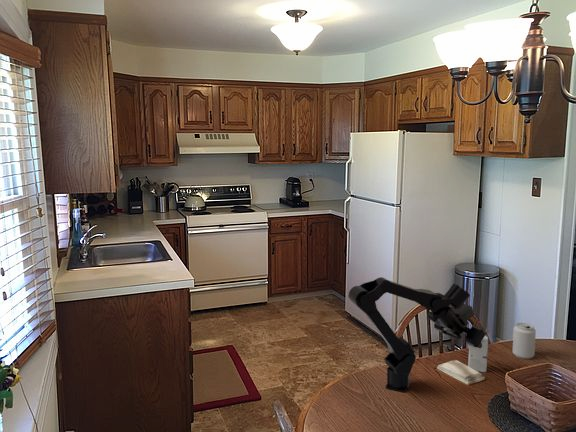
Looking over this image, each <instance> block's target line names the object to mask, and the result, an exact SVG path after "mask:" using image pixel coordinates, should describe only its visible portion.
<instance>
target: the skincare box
mask: <svg viewBox="0 0 576 432" xmlns="http://www.w3.org/2000/svg"><path fill="white" fill-rule="evenodd" d="M481 342H482V347H481V348H477V347H473V346H471V345H469V344H468V359H467V361H468V362H467V363H468V364H467V366H468V367H470V368H472V369H474V370H476V371H478V372H479V373H486V372H487V364H488V350H489V348H488V347H489V337H488V335H487V334H486V335H485V336H484V338H483V340H482V341H481Z"/></svg>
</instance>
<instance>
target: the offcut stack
mask: <svg viewBox="0 0 576 432" xmlns="http://www.w3.org/2000/svg"><path fill="white" fill-rule="evenodd" d="M436 368H437V370H439V371H441V372H443V373H445V374H446V375H448V376H450V377H451V378H454V379H456V380H457V381H460V382H461V383H463V384H464V385H466V386H469V385H473V384H475V383H479V382H481V381H485V380H486V379H485V378H486V377H485V376H484V375H483V374H482V372H480V371H476V370H474V369H472V368H470V367H468V365H466V364H464V363H462V362H461V361H459V360H457V359H455V360H450V361H447V362H444V363H442V364H438V365H437V367H436Z"/></svg>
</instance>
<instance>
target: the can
mask: <svg viewBox="0 0 576 432" xmlns="http://www.w3.org/2000/svg"><path fill="white" fill-rule="evenodd" d="M536 333H537V331H536V329H535V326H534V325H533V324H530V323H527V322H517V323H516V324H515V326H514V327H513V335H512V353H513V355H514V356H515V357H517V358H519V359H525V360H530V359H532V358H533V357H535V354H536V353H535V352H536Z"/></svg>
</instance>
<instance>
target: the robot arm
mask: <svg viewBox="0 0 576 432" xmlns="http://www.w3.org/2000/svg"><path fill="white" fill-rule="evenodd" d="M387 293H388V294H391V295H394V296H397V297H400V298H403V299H406V300H409V301H411V302H415V303H417V304H419V305H420V306H422V307H424V308H425V309H428V310H429V312H428V315H427V319H429V320H430V321H432V322H433V323H434V325H433V328H434V329H435V330H436V331H438V332H440V333H441V334H444V335H446V336H449V337H452V338H455V339H458V340H461V339H462V335H461V334H463V335H464V334H465V337H464V341H465V342H466V344H468V346H469V345H471V346H473V347H477V348H481V347H482V342H481V341H482V340H483V338H484V336H485V335H486V336H487V333H486V331H485V330H484V329H483V328H481V327H478V326H476V325H473V326H471V328H470V327H467V326H468V325H469V322H468V321H469V320H470V319H471V318H472V317H474V316H475V312H474V309H473V307H472V305H468V304H467V303H466V302H467V300H468V299H469V298H470V297H471V294H470V293H469V292H468V291H466V290H465V289H464V288H462V287H461V286H460V285H459V284H457V283H453V284H452V285H450V287H449V289H448V290H447V291H446V293H444V294H442V293H440V292H434V291H432V290H429V289H424V288H413V287H409V286H407V285H404V284H401V283H398V282H395V281H392V280H389V279H387V278H385V277H377V278H375V279H374V280H371V281H367V282H364V283H361V284H359V285H355V286H352V287H351V289H350V290H349V292H348V299H349V300H350V302H352V303H353V304H354V305H355V306H356V307H357V308H358V309H359V310H361V312H362V313H364V314H365V315H366V317H367V318H368V319H369V322H370V323H371V324H372V325H373V326H374V328H375V329H376V330H377V331H378V334H380V336H381V337H382V339H383V341H385V343H386V345H387V349H388V350H389V353H388V354H387V355H386V357H385V358H384V363H385V365H386V366H388V367H387V369H386V380H387V381H386V385H385V389H387V390H388V389H389V390H393V391H396V392H403V393H405V392H406V391H407V389H408V388H410V381H411V379H410V377H411V375H410V373H411V371H412V369H413V366H414V364H415V362H416V360H417V356H416V354H415V353H416V350H414V349H413V348H412V346H411V344H410V343H409V342H408V341H407V340H405V339H404V337H402V336H400V337H398V335H396V333H395V332H394V331H393V329H392V328H391V326H390V325H389V323H388V322H387V321H386V319H385V318H384V316H383V315H382V314H381V313H380V311H379V310H378V307H377V304H376V302H377V301H379V300H380V299H381V298H382V297H383V296H384V295H385V294H387ZM465 303H466V304H465Z"/></svg>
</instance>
